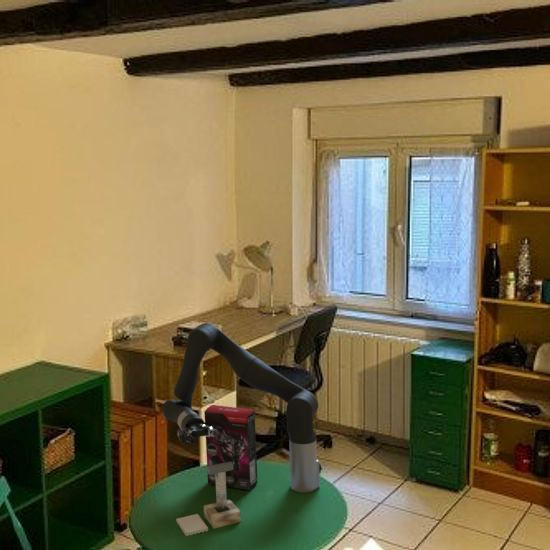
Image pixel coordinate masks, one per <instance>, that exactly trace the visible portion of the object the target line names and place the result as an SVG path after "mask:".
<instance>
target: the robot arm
mask: <svg viewBox="0 0 550 550" xmlns="http://www.w3.org/2000/svg"><path fill="white" fill-rule="evenodd" d="M185 344H186V345H185V349H184V350H185V351H184V357H183V362H182V366H181V369H180V372H179V375H178V378H177V380H176V382H175V386H174V389H173V395H174V396H175V398H177V399H175V398H174V399H172V398H169V399H167V400H165V401H164V403H163V405H162V414H163V416H164V417H165V418H166V419H167V420H168V421H171V422H172V423H175V424H177V425H178V427H179V428H178V429H177V430H176V431H177V438H178V440H179V441H180V443H185V442H187V443H189V444H190V445H192V446H194V445H196V439H197V438H200V437H202V438H203V437H205V438H206V437H211V436H213V437H215V438H216V439H217V440H220V439H221V435H222V428H221V427H220V426H219V425H218V424H216V423H213V425H212V426H208V425H206V424H205V420H204V419H203V418H202V417H201V416H200V415H199V414H198V413H197V412H195V411H194V410H192V409H193V407H192V405H193V395H194V393H195V390H196V389H197V384H198V381H199V368H200V364H201V362H202V360H203V358H204V356H205V355H206V353H207V352H209V351H210V350H212V351H215V352H216V353H218V354H219V355H220V356H221V357H223V358H224V359H225V360H226V361H227V363H228V364H229V366H230V368H231V369H232V371H233V373H234V374H235V375H236V376H237V377H238V378H239V379H240V380H241V381H243V382H244V383H245V384H247V385H249V386H250V387H252V388H254V389H255V390H259V391H262V392H265V393H268V394H271V395H274V396H276V397H278V398H280V399H281V400H283V401H284V402H285V403H286V408H285V409H286V410H285V417H286V431H287V434H288V436H289V469H290V470H289V472H290V473H289V475H290V476H289V477H290V478H289V479H290V480H289V484H290V489H291V490H292V491H294V492H296V493H303V494H304V493H310V492H314V491H316V490H317V489H319V488H320V461H319V460H318V456H317V454H318V453H317V452H318V451H317V431H316V430H315V429H314V418H313V417H314V415H315V414H316V413H317V412H318V409H319V401H318V399H317V397H316V396H315V395H314V394H313V393H312V392H311V391H309V390H307V389H306V388H304V387H302V386H300V385H298V384H296V383H295V382H292V381H291V380H289V379H288V378H287V377H285V376H284V375H282V374H281V373H280V372H278V371H276V370H275V369H274V368H272V367H271V366H270V365H268V364H266V363H265V362H264V361H263V360H261V359H259V358H258V357H257V356H255V355H254V354H252V353H250V352H249V350H246V349H245V347H244V348H243V347H242V346H241V345H239V344H238V343H236V342H235V341H234V340H233V339H232V338H231V337H229V336H228V335H227V334H226V333H224V332H223V331H222V330H221V329H220V328H219V327H217V326H216V325H215V324H212V323H210V322H203V323H201V324H200V325H197V326H196V327H195V328H193V329H192V330H191V331H190V332H189V333H188V336H187V339H186V343H185ZM212 431H213V432H214V434H213V433H212ZM207 433H208V434H207ZM318 487H319V488H318Z"/></svg>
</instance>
